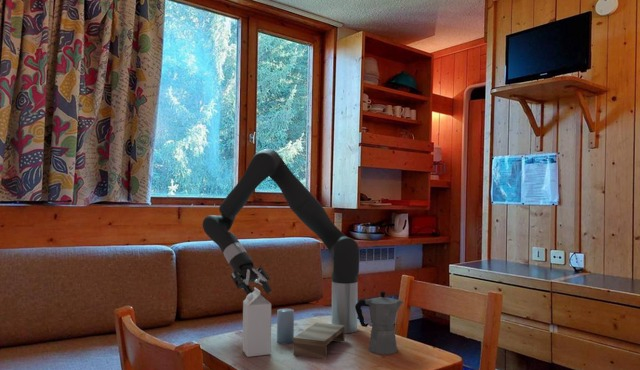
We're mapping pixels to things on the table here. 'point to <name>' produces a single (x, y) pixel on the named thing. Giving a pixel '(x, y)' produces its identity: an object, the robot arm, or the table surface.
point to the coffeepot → (381, 323)
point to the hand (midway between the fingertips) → (261, 294)
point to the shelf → (317, 339)
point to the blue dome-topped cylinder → (285, 326)
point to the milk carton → (256, 325)
